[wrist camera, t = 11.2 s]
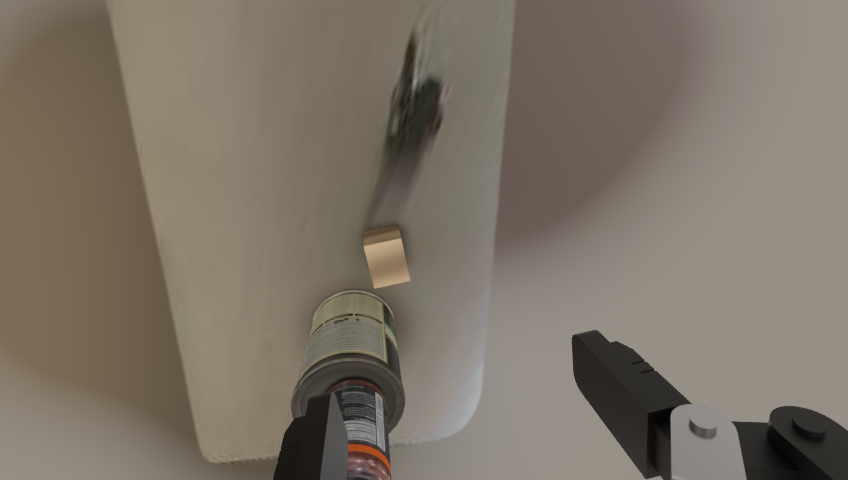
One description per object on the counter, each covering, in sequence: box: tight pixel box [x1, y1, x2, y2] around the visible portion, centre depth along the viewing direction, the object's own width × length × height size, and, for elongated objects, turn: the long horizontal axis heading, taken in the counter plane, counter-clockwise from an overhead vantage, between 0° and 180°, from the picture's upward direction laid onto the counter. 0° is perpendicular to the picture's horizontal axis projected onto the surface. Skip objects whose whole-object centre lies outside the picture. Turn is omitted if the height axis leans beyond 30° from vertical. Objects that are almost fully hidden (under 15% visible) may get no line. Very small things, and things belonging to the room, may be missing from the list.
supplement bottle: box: [326, 379, 391, 480], centre depth 30 cm, size 6×6×11 cm
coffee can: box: [291, 290, 405, 434], centre depth 42 cm, size 10×10×14 cm
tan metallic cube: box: [364, 225, 410, 289], centre depth 44 cm, size 5×4×5 cm
